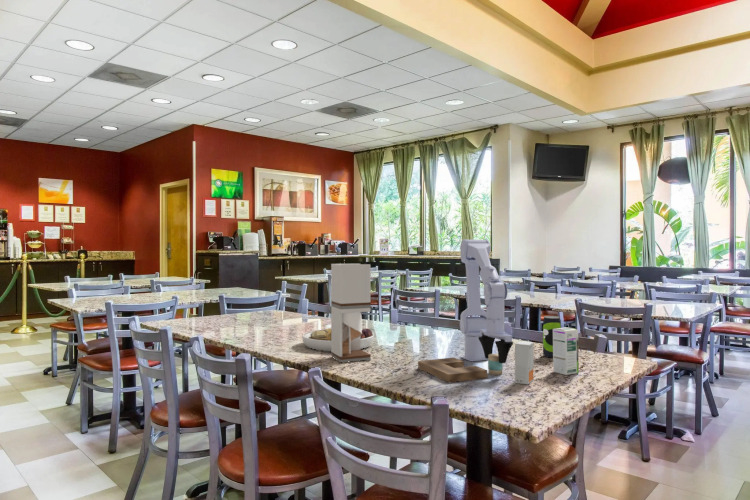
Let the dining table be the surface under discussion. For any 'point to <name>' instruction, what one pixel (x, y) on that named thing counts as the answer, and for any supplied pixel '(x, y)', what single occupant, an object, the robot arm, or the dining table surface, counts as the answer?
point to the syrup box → (565, 351)
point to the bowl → (323, 339)
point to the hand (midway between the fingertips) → (495, 360)
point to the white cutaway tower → (349, 310)
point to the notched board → (452, 369)
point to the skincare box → (524, 362)
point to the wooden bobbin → (494, 365)
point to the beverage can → (549, 334)
